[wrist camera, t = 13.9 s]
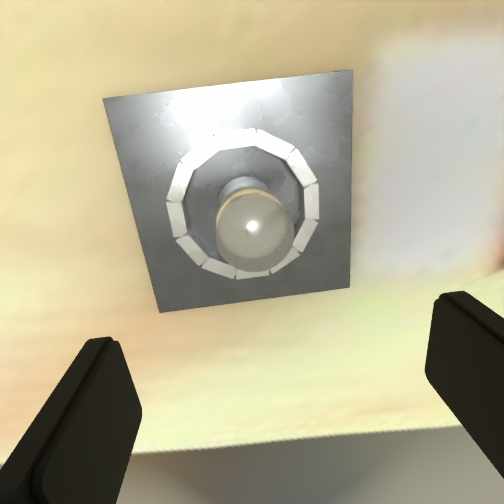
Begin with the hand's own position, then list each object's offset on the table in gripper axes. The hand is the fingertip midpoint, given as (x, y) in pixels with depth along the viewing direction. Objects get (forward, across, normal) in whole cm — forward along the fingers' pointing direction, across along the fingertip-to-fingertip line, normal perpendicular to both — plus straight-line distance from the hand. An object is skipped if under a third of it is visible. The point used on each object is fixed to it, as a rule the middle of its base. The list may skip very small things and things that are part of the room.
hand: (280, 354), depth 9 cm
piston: (+19, 0, 0) cm, 19 cm away
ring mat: (+20, 0, 0) cm, 20 cm away
